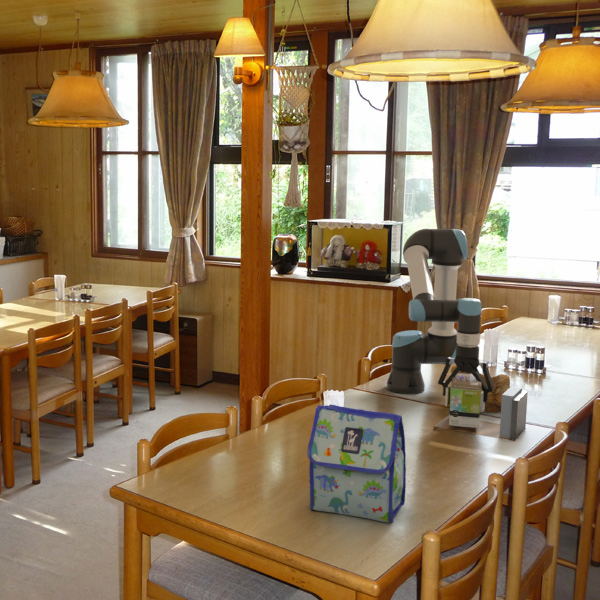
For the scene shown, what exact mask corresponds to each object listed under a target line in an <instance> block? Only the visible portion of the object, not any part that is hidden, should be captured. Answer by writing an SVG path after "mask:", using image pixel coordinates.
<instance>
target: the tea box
mask: <svg viewBox="0 0 600 600" xmlns="http://www.w3.org/2000/svg"><path fill="white" fill-rule="evenodd" d="M450 386H451V389H450V405H449V408H448V411H449V414H448V415H449V425H452V426H461V427H473V428H478V427H479V420H480V416H481V415H480V414H481V412H480V403H481V388H482V386H481V382H480V381H477V380H476V379H475V377H474V376H473V375H472V374H463V373H458V374H457V375H456V376H455V377H453V378H452V381H451V382H450Z"/></svg>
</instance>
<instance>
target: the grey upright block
mask: <svg viewBox="0 0 600 600" xmlns="http://www.w3.org/2000/svg"><path fill="white" fill-rule="evenodd" d="M522 390H523V388H522V387H521V386H520V387H518V386H512V385H510V388H509V389H508V390H507V391H506V392H504V393H503V394H502V402H501V412H500V418H499V420H500V421H499V422H500V423H499V424H500V437H504V438H509V439H510V431H511V414H512V400H513V399H514V398H515V397H516V396H517V395H518V394H519V393H520V392H521V391H522Z"/></svg>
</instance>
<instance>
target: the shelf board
mask: <svg viewBox="0 0 600 600" xmlns="http://www.w3.org/2000/svg"><path fill="white" fill-rule="evenodd" d="M443 429H445V430H451V431H455V432H456V431H457V432H463V433H468V434H473V435H479V436H484V437H489V438H495V439H500V440H504V441H505V440H506V441H512V442H516V441H517V439H516V440H512V439H509V438H504V437H500V423H499V422H498V423H497V422H494V421H493V422H490V421H486V420H481V419H479V427H478V428H473V427H461V426H452V425H449V414H448V415H446V416H444V418H442V419H441V420H440V421H439V422H437V423H436V424H434V426H433V430H437V431H440V432H441V431H442V430H443ZM526 429H527V428H526V427H525V430H526ZM522 434H523V432H522V433H521V435H522Z"/></svg>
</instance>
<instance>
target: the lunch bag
mask: <svg viewBox="0 0 600 600" xmlns="http://www.w3.org/2000/svg"><path fill="white" fill-rule="evenodd" d="M309 437H310V438H309V440H308V444H307V445H308V446H307V452H306V453H307V454H306V455H307V458H308V460H309V468H308V470H309V471H308V472H309V473H308V475H309V509H310V510H311V511H318V512H324V513H325V512H326V513H334V514H339V515H345V516H351V517H358V518H363V519H369V520H372V521H379V522H383V523H388V524H393V523H394V518H395V517H396V515H397V514H398V512H399V510H400V509H401V507H402V506H404V505H405V502H406V488H407V487H406V485H407V484H406V483H407V482H406V480H407V479H406V478H407V477H406V475H407V466H406V465H407V463H406V440H405V439H406V438H405V429H404V423H403V415H399V414H397V413H392V412H391V413H390V412H386V411H385V412H382V411H372V410H366V409H360V408H359V409H358V408H351V407H346V406H339V405H336V404H331V403H330V404H329V405H321V404H320V405H318V406H316V407H315V414H314V417H313V424H312V429H311V433H310V436H309Z"/></svg>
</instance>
